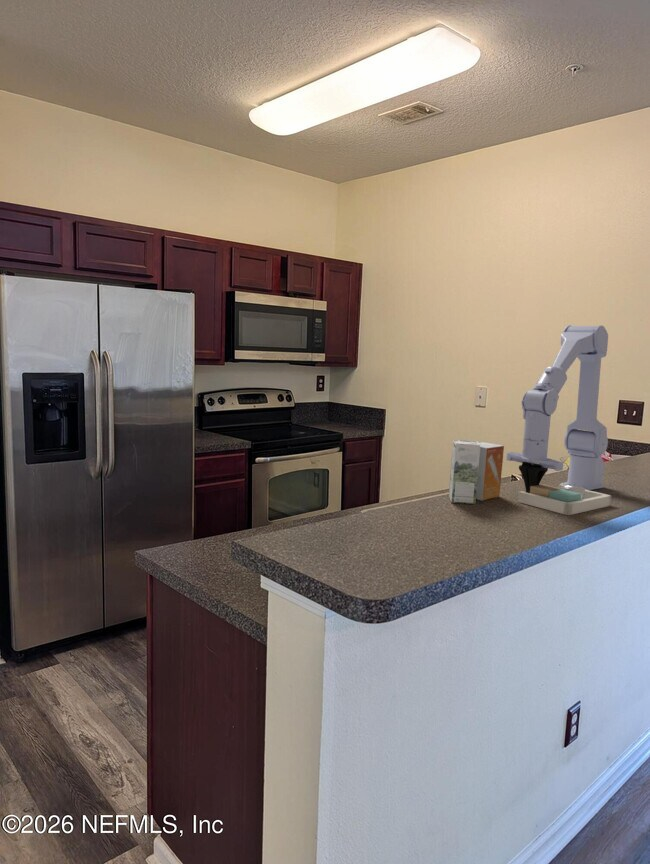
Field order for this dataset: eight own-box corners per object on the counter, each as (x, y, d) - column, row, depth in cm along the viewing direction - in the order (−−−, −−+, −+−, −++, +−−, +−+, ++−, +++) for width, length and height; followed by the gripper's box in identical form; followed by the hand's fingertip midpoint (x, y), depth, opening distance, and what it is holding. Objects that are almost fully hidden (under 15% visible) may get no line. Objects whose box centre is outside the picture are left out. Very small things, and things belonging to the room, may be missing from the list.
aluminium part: (569, 498, 153) (570, 482, 153) (587, 503, 149) (589, 487, 149) (557, 500, 150) (559, 485, 150) (576, 505, 146) (577, 489, 146)
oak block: (541, 500, 150) (542, 484, 149) (559, 504, 146) (561, 488, 145) (528, 502, 147) (530, 486, 146) (547, 507, 143) (548, 490, 142)
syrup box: (472, 498, 148) (476, 439, 146) (475, 505, 142) (480, 443, 140) (448, 497, 149) (452, 438, 147) (451, 503, 143) (455, 442, 141)
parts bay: (560, 493, 158) (561, 484, 157) (610, 505, 147) (611, 495, 147) (517, 501, 147) (518, 491, 147) (568, 515, 136) (569, 504, 136)
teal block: (560, 505, 146) (561, 489, 146) (579, 510, 142) (581, 493, 142) (547, 507, 143) (549, 491, 143) (567, 513, 139) (568, 496, 139)
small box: (482, 501, 146) (487, 447, 144) (460, 496, 151) (464, 444, 149) (500, 496, 152) (504, 445, 150) (478, 491, 156) (482, 441, 154)
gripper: (500, 436, 151) (496, 489, 153) (553, 445, 139) (547, 502, 141) (518, 434, 155) (513, 486, 157) (570, 443, 144) (564, 499, 145)
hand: (530, 494), depth 149 cm, fingers closed
